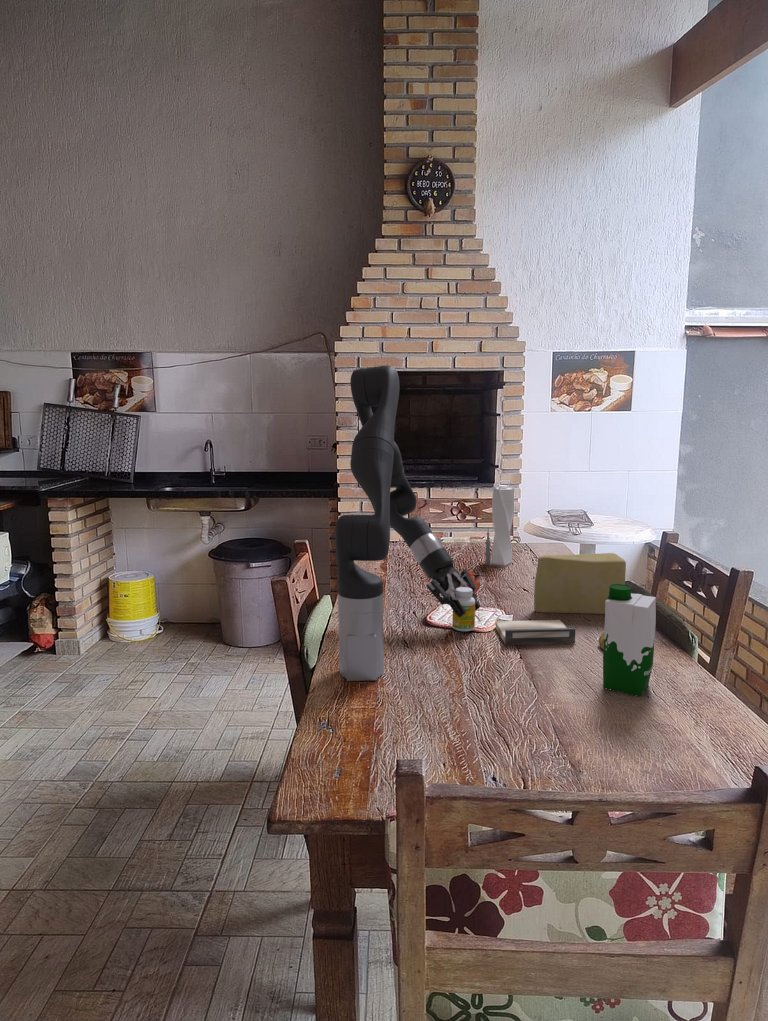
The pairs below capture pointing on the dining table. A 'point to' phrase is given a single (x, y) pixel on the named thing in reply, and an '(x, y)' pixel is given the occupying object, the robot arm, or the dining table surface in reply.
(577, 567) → the cheese
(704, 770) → the dining table surface
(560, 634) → the shelf board
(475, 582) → the pomegranate
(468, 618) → the supplement bottle
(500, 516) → the skyscraper
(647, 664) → the milk carton
